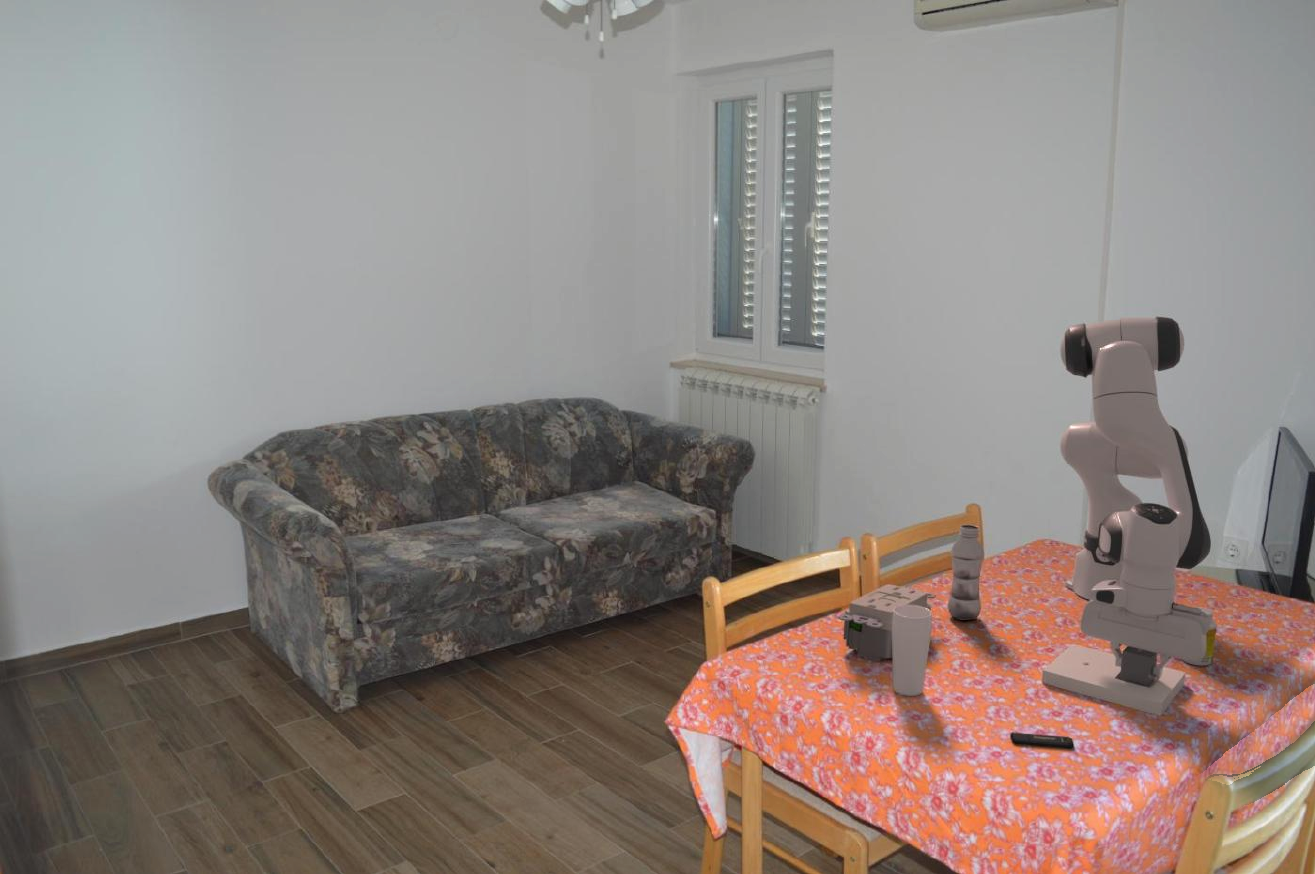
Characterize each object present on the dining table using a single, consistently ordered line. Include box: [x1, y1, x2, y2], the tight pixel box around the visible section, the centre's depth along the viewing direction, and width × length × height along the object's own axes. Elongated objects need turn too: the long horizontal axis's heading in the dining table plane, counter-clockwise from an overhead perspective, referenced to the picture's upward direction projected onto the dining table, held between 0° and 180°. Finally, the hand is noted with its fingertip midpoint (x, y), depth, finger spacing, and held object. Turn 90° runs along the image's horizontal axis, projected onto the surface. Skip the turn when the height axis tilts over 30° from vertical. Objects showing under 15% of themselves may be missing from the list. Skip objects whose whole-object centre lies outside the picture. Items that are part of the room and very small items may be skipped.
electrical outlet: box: [837, 583, 937, 662], centre depth 201 cm, size 12×28×10 cm, turn 143°
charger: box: [1120, 646, 1158, 688], centre depth 181 cm, size 5×5×6 cm
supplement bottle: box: [1181, 606, 1218, 667], centre depth 194 cm, size 6×6×10 cm
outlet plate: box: [1041, 643, 1187, 717], centre depth 184 cm, size 16×20×2 cm
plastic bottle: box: [947, 524, 985, 621], centre depth 214 cm, size 6×7×20 cm
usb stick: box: [1009, 732, 1075, 750], centre depth 163 cm, size 10×3×2 cm, turn 81°
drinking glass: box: [891, 605, 933, 697], centre depth 180 cm, size 7×7×15 cm
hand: (1138, 670), depth 181 cm, fingers closed on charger, 5 cm apart
